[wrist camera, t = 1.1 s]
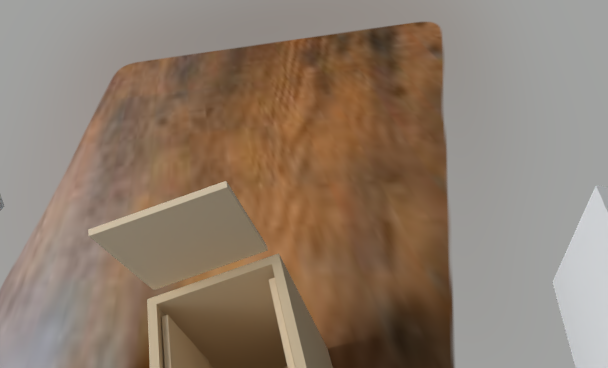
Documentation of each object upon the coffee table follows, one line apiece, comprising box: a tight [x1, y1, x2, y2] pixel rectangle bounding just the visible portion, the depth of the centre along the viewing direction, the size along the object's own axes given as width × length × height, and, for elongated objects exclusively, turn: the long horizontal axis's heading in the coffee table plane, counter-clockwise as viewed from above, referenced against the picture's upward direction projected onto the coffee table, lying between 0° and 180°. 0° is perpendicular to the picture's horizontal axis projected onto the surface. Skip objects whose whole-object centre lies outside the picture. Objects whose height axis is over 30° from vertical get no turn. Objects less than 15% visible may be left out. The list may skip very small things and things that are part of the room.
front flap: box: [88, 181, 267, 290], centre depth 34 cm, size 8×8×1 cm
